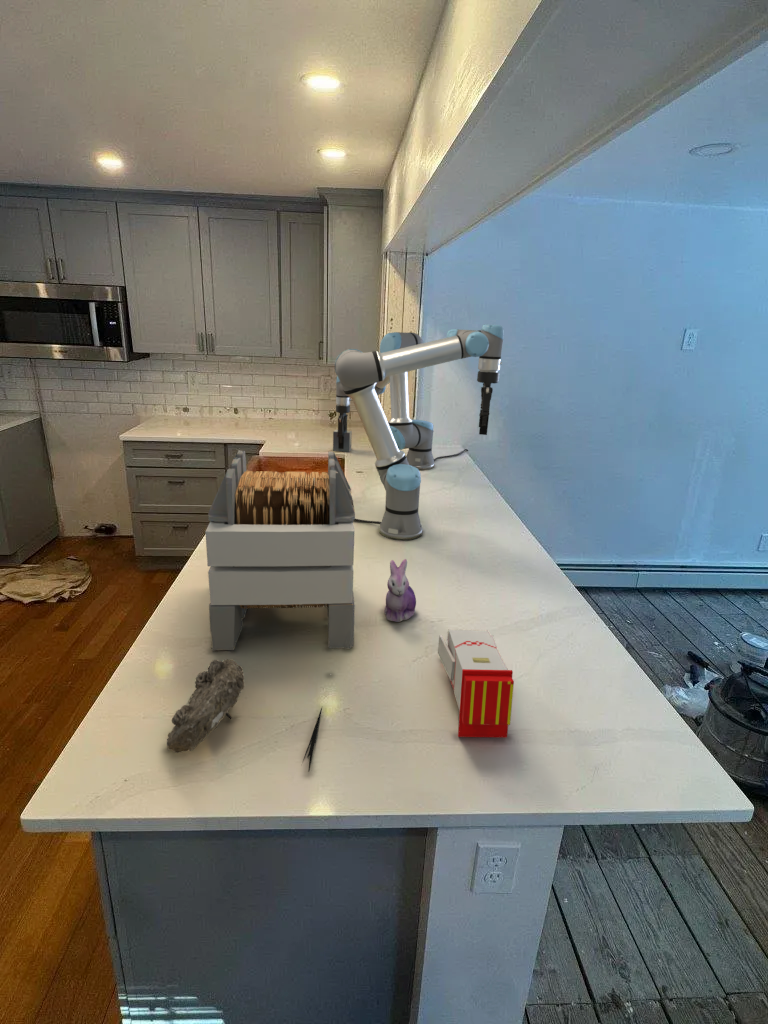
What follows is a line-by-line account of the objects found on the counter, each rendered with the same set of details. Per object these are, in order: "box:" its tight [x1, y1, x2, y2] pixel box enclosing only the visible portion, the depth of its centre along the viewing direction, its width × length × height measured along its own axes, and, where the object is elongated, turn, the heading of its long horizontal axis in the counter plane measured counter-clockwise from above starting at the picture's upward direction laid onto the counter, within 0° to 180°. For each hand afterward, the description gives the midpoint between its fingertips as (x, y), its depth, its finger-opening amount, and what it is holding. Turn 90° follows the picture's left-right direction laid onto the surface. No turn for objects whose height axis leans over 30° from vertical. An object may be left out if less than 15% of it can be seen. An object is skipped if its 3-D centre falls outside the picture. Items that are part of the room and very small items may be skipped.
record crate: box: [204, 449, 356, 652], centre depth 138 cm, size 34×33×41 cm
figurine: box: [384, 558, 417, 623], centre depth 145 cm, size 9×10×15 cm
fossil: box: [166, 658, 245, 754], centre depth 106 cm, size 22×10×15 cm
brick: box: [332, 429, 353, 453], centre depth 310 cm, size 6×9×11 cm, turn 82°
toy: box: [437, 628, 515, 738], centre depth 117 cm, size 12×13×30 cm
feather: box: [301, 673, 332, 771], centre depth 108 cm, size 2×28×2 cm
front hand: (482, 430), depth 206 cm, fingers open, 13 cm apart
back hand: (342, 447), depth 311 cm, fingers closed on brick, 5 cm apart
